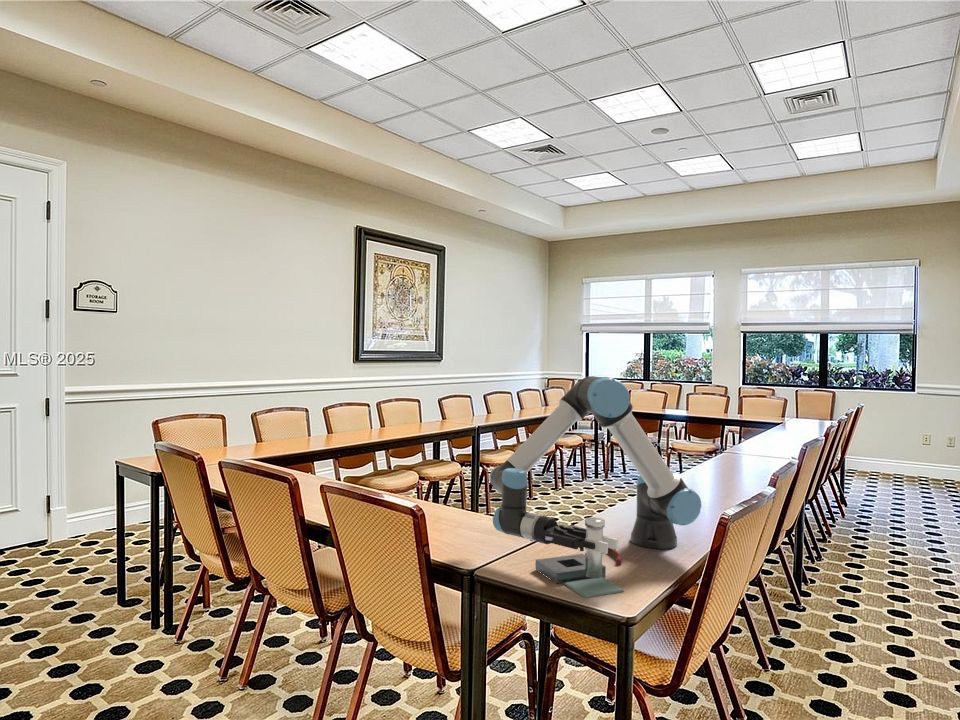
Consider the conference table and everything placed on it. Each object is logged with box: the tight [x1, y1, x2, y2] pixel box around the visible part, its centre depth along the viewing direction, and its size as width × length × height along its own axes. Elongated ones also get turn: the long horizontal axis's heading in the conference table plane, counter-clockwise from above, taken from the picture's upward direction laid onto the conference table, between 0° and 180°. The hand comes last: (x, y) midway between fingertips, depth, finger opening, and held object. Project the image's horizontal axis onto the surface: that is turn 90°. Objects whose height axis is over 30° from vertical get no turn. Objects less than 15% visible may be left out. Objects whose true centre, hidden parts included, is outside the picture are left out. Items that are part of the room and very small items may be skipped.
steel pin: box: [584, 517, 606, 578], centre depth 166 cm, size 5×5×15 cm
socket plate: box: [534, 553, 607, 584], centre depth 177 cm, size 16×12×3 cm
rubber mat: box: [564, 577, 624, 599], centre depth 166 cm, size 12×10×1 cm
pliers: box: [584, 548, 623, 566], centre depth 196 cm, size 12×20×3 cm, turn 162°
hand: (611, 546), depth 163 cm, fingers closed on steel pin, 4 cm apart
